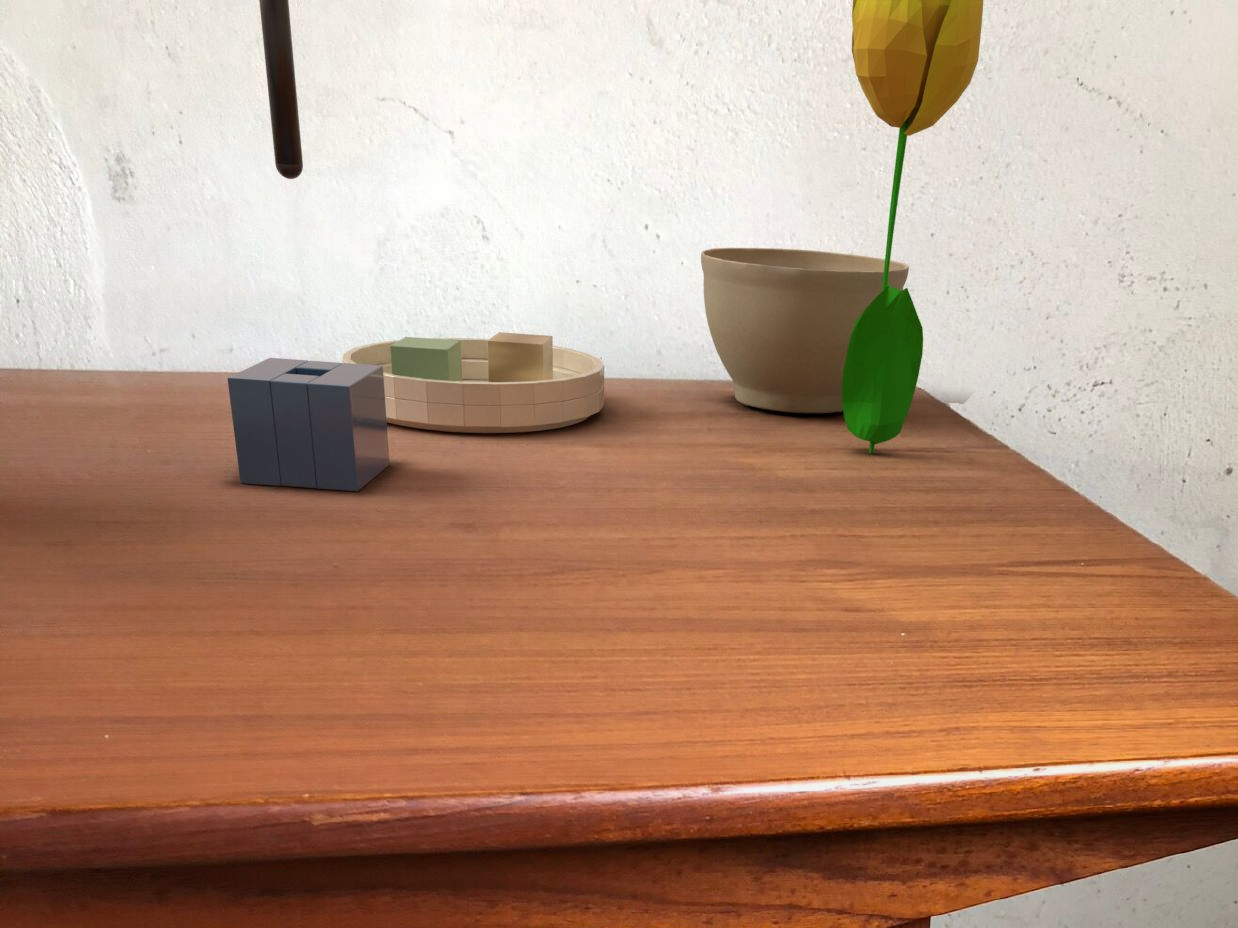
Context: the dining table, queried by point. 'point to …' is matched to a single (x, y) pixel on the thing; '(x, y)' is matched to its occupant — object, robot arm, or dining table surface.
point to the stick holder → (309, 423)
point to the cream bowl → (489, 393)
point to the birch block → (520, 357)
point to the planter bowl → (789, 320)
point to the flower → (912, 101)
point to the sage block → (427, 358)
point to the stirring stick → (281, 87)
